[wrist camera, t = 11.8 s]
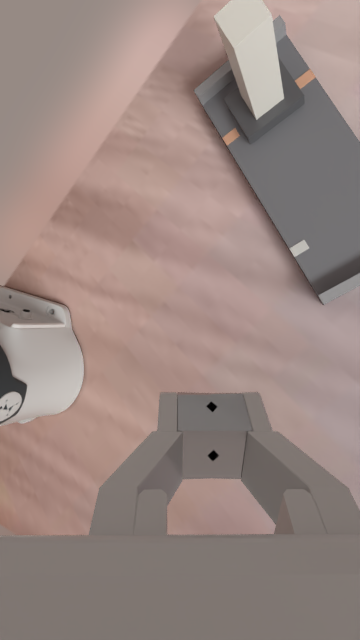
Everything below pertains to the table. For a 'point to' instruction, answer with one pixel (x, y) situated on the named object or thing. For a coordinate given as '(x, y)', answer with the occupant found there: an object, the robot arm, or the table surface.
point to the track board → (301, 173)
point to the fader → (256, 69)
